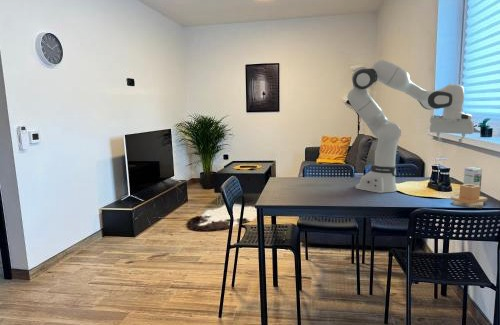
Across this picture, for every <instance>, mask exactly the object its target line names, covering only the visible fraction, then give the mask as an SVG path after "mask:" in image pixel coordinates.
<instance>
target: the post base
mask: <svg viewBox="0 0 500 325" xmlns="http://www.w3.org/2000/svg"><path fill="white" fill-rule="evenodd" d="M459 194H460V193H456V195H455V196H459ZM479 197H483V195H480V196H479ZM484 202H485V201H482V202H477V203H472V204H466V203H462V202H458V201H455V200H452V205H455V206H462V207H470V208H475V207H476V208H475V209H482V208H484Z"/></svg>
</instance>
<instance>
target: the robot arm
mask: <svg viewBox="0 0 500 325" xmlns="http://www.w3.org/2000/svg"><path fill="white" fill-rule="evenodd" d="M351 82H352V89H351V90H350V91H348V94H347V100H348V102H349V104H350V106H351V107H352V108H353V110H354V111H355V113H357V114H358V116H359V117H360V118H361V119H362V120H363V122H364V123H365V124H366V126H367V127H368V128H369V130H370V131H371V133H372V134H373V135H374V136H375V138H376V139H377V144H376V148H375V151H374V163H373V164H372V165H371V166H370V171H369V172H367V173H365V174H364V175H362V176H361V178H360V180H359V183H358V184H356V185H355V189H356V190H357V189H358V190H362V191H369V192H373V193H378V194H380V193H382V194H383V193H393V192H397V191H398V189H397V185H396V184H397V183H396V175H397V166H396V159H397V158H396V157H397V156H396V155H397V149H398V146H399V140H400V137H401V136H402V128H400V126H399V125H398V124H397V123H396V122H393V121H390V120H389V119H388V118H387V116H386V115H385V113H384V111H383V109H382V108H381V107H380V105H379V104H378V103H377V102H376V101H375V100H374V99H373V97H372V96H371V95H370V94H369V92H368V89H369V88H370V87H371V86H372V85H373V84H374V83H376V82H379V83H382V84H383V85H384V86H387V87H389V88H391V89H394V90H397V91H400V92H403V93H405V94H407V95H409V96H410V97H412V98H414V99H415V100H416V101H418V103H419V105H420V106H421V107H422V108H423V109H425V110H429V111H431V110H439V109H443V110H442V111H443V112H442V115H437V114H436V115H431V117H430V119H429V122H430V127H429V132H430V133H434V134H436V136H437V140H438V142H443V140H442V139H443V138H442V137H441V136H440V135H441V134H461V136H462V137H460V138H458V143H463V139H464V138H465V137H466V135H473V133H474V130H475V125H474V124H475V123H474V121H473V115H472V114H469V113H466V112H464V108H463V104H464V101H465V88H464V86H463V85H461V84H457V83H449V84H447V85H445V86H443V87H442V88H439V89H436V90H426V89H424V88H422V87H420V86H419V85H417V84H416V83H414V82H413V81H412V80H411V78H410V74H409V72H407V71H406V69H403V68H402V67H400V66H399V65H397V64H395V63H392V62H390V61H387V60H384V59H380V60H378V61H376V62H375V63H374V64H373V66H372V67H370V68H367V67H365V66H364V67H363V66H362V67H358V68H356V69H355V70H354V71H353V73H352V76H351Z"/></svg>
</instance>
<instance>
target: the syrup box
mask: <svg viewBox="0 0 500 325" xmlns="http://www.w3.org/2000/svg"><path fill="white" fill-rule="evenodd" d="M463 173H464V174H463V184H462V185H464V184H472V185H477V186H480V191H481V188H482V175H483V168H480V167H464V172H463Z"/></svg>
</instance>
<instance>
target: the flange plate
mask: <svg viewBox="0 0 500 325" xmlns="http://www.w3.org/2000/svg"><path fill="white" fill-rule="evenodd" d="M463 184H464V183H463ZM463 184H460V185H459V193H458V194H459V196H456V195H455V196H451V197H450V201H454V200H455V201H458V202H462V203H466V204H472V203H477V202H482V201H484V202H486V201H488V200H489V199H488V197H485V196H482V197H479V196H481V190H480V186H477V185H472V184H464V185H463Z"/></svg>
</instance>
